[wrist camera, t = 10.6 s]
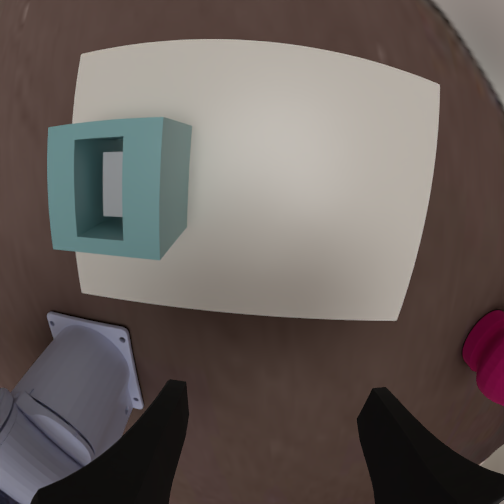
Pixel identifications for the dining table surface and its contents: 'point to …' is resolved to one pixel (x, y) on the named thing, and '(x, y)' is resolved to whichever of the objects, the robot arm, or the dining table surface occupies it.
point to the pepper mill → (487, 355)
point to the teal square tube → (133, 186)
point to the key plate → (272, 176)
